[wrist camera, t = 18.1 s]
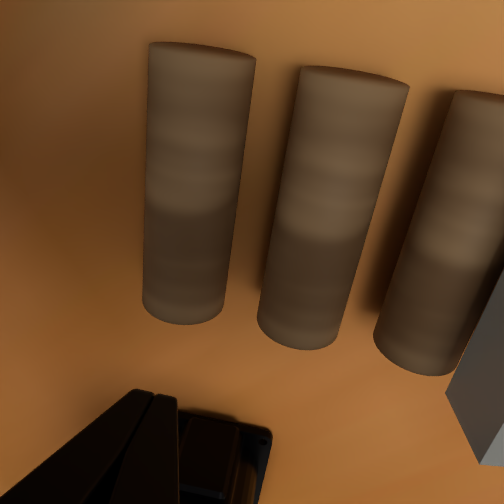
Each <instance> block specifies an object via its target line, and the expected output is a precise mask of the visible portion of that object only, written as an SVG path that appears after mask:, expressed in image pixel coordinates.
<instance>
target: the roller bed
mask: <svg viewBox="0 0 504 504" xmlns="http://www.w3.org/2000/svg"><path fill="white" fill-rule="evenodd" d="M255 65H256V58H255V57H253V56H250V55H248V54H245V53H241V52H237V51H233V50H228V49H223V48H218V47H212V46H205V45H197V44H189V43H177V42H154V43H150V44H149V63H148V101H147V139H146V177H145V215H144V253H143V291H142V302H143V305H144V307H145V309H146V310H147V311H148V312H149V313H150V314H151V315H152V316H154V317H155V318H157V319H159V320H162V321H164V322H168V323H172V324H178V325H193V324H199V323H203V322H206V321H209V320H211V319H213V318H214V317H216V316H217V315H218V314H219V313H220V312H221V310H222V308H223V305H224V299H225V291H226V284H227V276H228V269H229V261H230V254H231V246H232V239H233V231H234V223H235V216H236V208H237V201H238V193H239V186H240V178H241V171H242V163H243V156H244V148H245V141H246V133H247V125H248V118H249V110H250V103H251V95H252V88H253V80H254V73H255ZM409 88H410V87H409V85H407V84H405V83H403V82H400V81H398V80H394V79H391V78H388V77H384V76H380V75H375V74H371V73H366V72H361V71H355V70H349V69H343V68H335V67H326V66H304V67H302V68H301V71H300V77H299V83H298V88H297V94H296V99H295V105H294V111H293V116H292V122H291V128H290V133H289V139H288V144H287V150H286V156H285V161H284V167H283V172H282V178H281V184H280V189H279V195H278V200H277V206H276V212H275V217H274V223H273V228H272V234H271V240H270V245H269V251H268V256H267V262H266V268H265V273H264V279H263V284H262V290H261V296H260V301H259V307H258V312H257V322H258V325H259V327H260V328H261V330H262V331H263V332H264V333H265V334H266V335H267V336H268V337H269V338H271V339H272V340H274V341H275V342H277V343H279V344H281V345H284V346H287V347H290V348H294V349H299V350H316V349H321V348H324V347H326V346H328V345H330V344H331V343H333V341H334V340H335V339H336V337H337V335H338V331H339V328H340V324H341V321H342V318H343V314H344V311H345V307H346V304H347V300H348V297H349V294H350V290H351V287H352V283H353V280H354V276H355V273H356V270H357V266H358V263H359V259H360V256H361V252H362V249H363V246H364V242H365V239H366V235H367V232H368V229H369V225H370V222H371V218H372V215H373V211H374V208H375V205H376V201H377V198H378V194H379V191H380V187H381V184H382V181H383V177H384V174H385V170H386V167H387V164H388V160H389V157H390V153H391V150H392V146H393V143H394V140H395V136H396V133H397V129H398V126H399V122H400V119H401V116H402V112H403V109H404V105H405V102H406V98H407V95H408V92H409ZM503 267H504V95H499V94H493V93H487V92H479V91H469V90H458V91H455V93H454V96H453V99H452V102H451V105H450V108H449V111H448V114H447V117H446V120H445V123H444V126H443V129H442V132H441V135H440V137H439V140H438V143H437V146H436V149H435V152H434V155H433V158H432V161H431V164H430V167H429V170H428V173H427V176H426V179H425V182H424V185H423V188H422V190H421V193H420V196H419V199H418V202H417V205H416V208H415V211H414V214H413V217H412V220H411V223H410V226H409V229H408V232H407V235H406V238H405V241H404V243H403V246H402V249H401V252H400V255H399V258H398V261H397V264H396V267H395V270H394V273H393V276H392V279H391V282H390V285H389V288H388V291H387V294H386V296H385V299H384V302H383V305H382V308H381V311H380V314H379V317H378V320H377V323H376V326H375V329H374V332H373V338H374V342H375V344H376V346H377V348H378V349H379V350H380V352H381V353H382V354H383V355H384V356H385V357H386V358H388V359H389V360H390V361H391V362H393V363H394V364H396V365H398V366H399V367H401V368H403V369H406V370H408V371H410V372H413V373H416V374H421V375H426V376H442V375H446V374H449V373H451V372H452V371H453V370H454V369H455V368H456V366H457V364H458V362H459V360H460V358H461V356H462V354H463V352H464V349H465V347H466V345H467V343H468V341H469V339H470V337H471V335H472V333H473V330H474V328H475V326H476V324H477V322H478V320H479V318H480V316H481V314H482V311H483V309H484V307H485V305H486V303H487V301H488V299H489V297H490V295H491V292H492V290H493V288H494V286H495V284H496V282H497V280H498V278H499V276H500V273H501V271H502V269H503Z"/></svg>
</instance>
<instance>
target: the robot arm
mask: <svg viewBox="0 0 504 504" xmlns="http://www.w3.org/2000/svg"><path fill="white" fill-rule="evenodd" d="M272 440H273V436H272V434H271V433H270V432H269V431H266V430H263V429H258V428H253V427H249V426H244V425H239V424H235V423H230V422H226V421H221V420H216V419H212V418H207V417H203V416H198V415H193V414H189V413H184V412H180V411H178V404H177V399H176V398H175V397H172V396H168V395H163V394H156V395H155V394H154V393H152V392H149V391H144V390H140V389H133V390H131V391H130V392H128V393H127V394H126V395H125V396H124V397H122V398H121V399H120V400H119V401H117V402H116V403H115V404H114V405H112V406H111V407H110V408H109V409H108V410H106V411H105V412H104V413H103V414H101V415H100V416H99V417H98V418H97V419H95V420H94V421H93V422H92V423H90V424H89V425H88V426H87V427H86V428H84V429H83V430H82V431H81V432H79V433H78V434H77V435H76V436H75V437H73V438H72V439H71V440H70V441H68V442H67V443H66V444H65V445H63V446H62V447H61V448H60V449H59V450H57V451H56V452H55V453H54V454H52V455H51V456H50V457H49V458H48V459H46V460H45V461H44V462H43V463H41V464H40V465H39V466H38V467H37V468H35V469H34V470H33V471H32V472H30V473H29V474H28V475H27V476H26V477H24V478H23V479H22V480H21V481H19V482H18V483H17V484H16V485H14V486H13V487H12V488H11V489H10V490H8V491H7V492H6V493H5V494H3V495H2V496H1V497H0V504H258V500H259V496H260V492H261V488H262V484H263V479H264V475H265V471H266V467H267V463H268V458H269V454H270V450H271V446H272Z"/></svg>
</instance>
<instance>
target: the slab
mask: <svg viewBox="0 0 504 504" xmlns="http://www.w3.org/2000/svg"><path fill="white" fill-rule="evenodd" d="M445 394H446V396H447V398H448V400H449V402H450V404H451V406H452V408H453V410H454V413H455V415H456V417H457V419H458V421H459V423H460V425H461V427H462V429H463V431H464V433H465V435H466V438H467V440H468V442H469V444H470V446H471V448H472V450H473V452H474V454H475V456H476V458H477V460H478V463H479V464H481V465H492V466H503V467H504V270H503V272H502V274H501V276H500V278H499V280H498V282H497V284H496V287H495V289H494V291H493V293H492V295H491V297H490V299H489V301H488V303H487V306H486V308H485V310H484V312H483V314H482V316H481V318H480V320H479V322H478V325H477V327H476V329H475V331H474V333H473V335H472V337H471V339H470V341H469V344H468V346H467V348H466V350H465V352H464V354H463V356H462V358H461V360H460V363H459V365H458V367H457V369H456V371H455V373H454V375H453V377H452V380H451V382H450V384H449V386H448V388H447V390H446V392H445Z"/></svg>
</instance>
